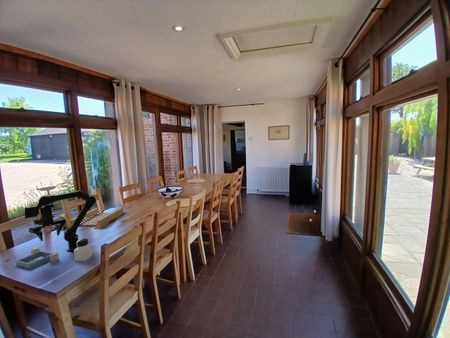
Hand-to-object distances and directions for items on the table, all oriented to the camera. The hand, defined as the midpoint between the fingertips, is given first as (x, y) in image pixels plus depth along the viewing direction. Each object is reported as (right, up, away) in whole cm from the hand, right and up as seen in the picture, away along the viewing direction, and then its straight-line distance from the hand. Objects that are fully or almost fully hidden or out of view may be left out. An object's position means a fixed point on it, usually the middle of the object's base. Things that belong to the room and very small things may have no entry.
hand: (50, 238), depth 143 cm
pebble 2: (+7, -13, -6) cm, 16 cm away
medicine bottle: (+24, -12, -3) cm, 27 cm away
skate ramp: (-9, -7, +64) cm, 65 cm away
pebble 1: (-13, -12, +4) cm, 18 cm away
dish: (-4, -13, -6) cm, 15 cm away
